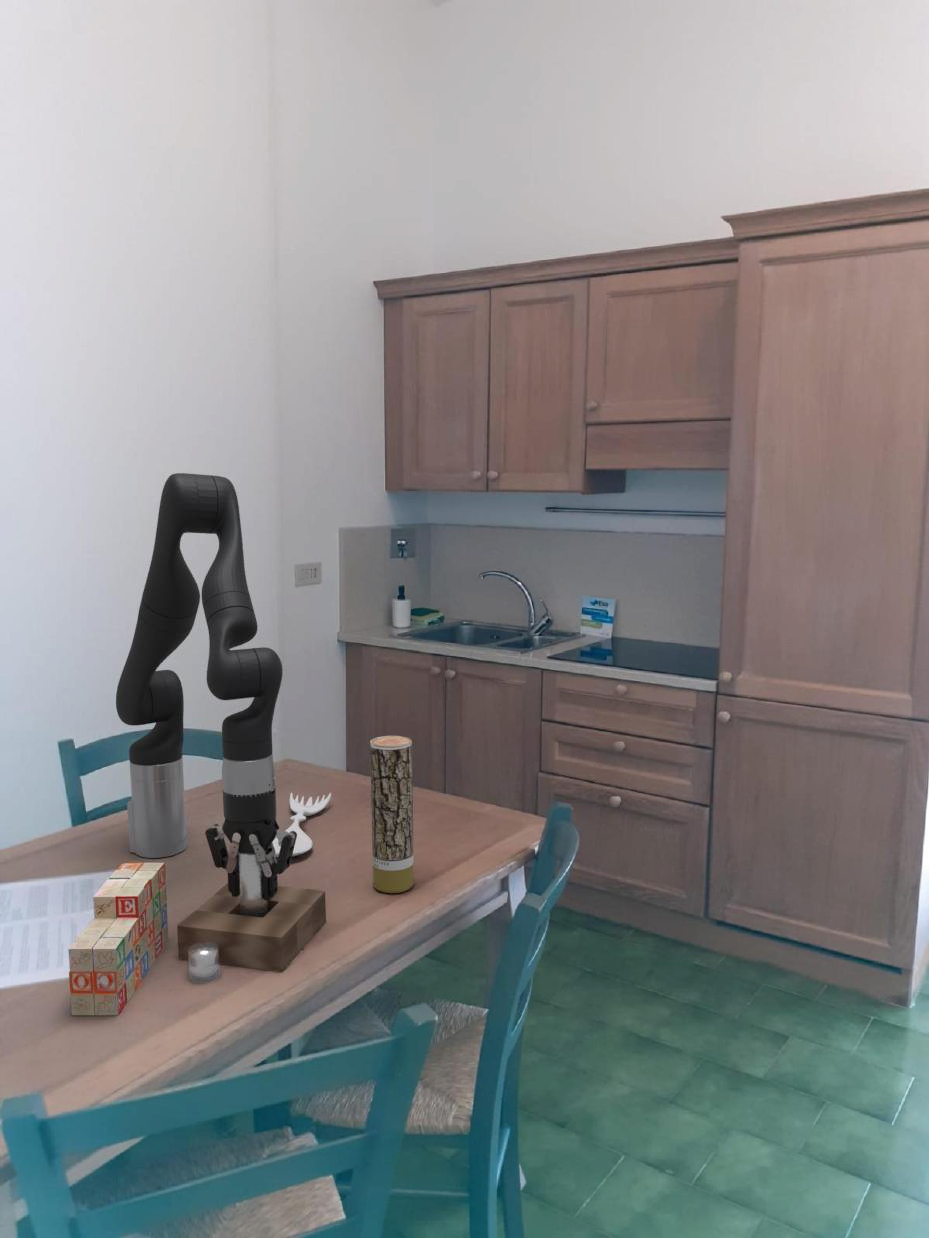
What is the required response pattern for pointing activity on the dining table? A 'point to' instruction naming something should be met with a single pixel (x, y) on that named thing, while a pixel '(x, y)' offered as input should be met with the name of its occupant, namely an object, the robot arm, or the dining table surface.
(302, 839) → the spoon
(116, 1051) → the dining table surface
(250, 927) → the hole block
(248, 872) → the long pin
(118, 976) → the stack of blocks
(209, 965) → the grey metal cylinder
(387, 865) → the paper tube
